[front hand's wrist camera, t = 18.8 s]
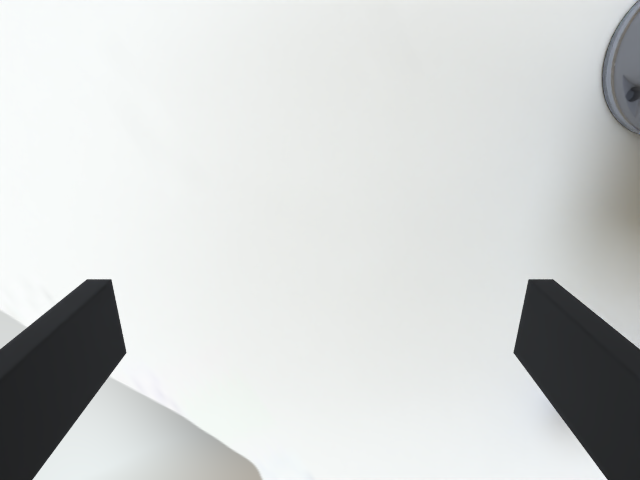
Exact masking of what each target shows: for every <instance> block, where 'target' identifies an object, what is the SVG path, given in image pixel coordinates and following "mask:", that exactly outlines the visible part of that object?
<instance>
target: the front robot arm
mask: <svg viewBox="0 0 640 480" xmlns="http://www.w3.org/2000/svg"><path fill="white" fill-rule="evenodd" d="M603 90H604V95H605V99H606V102H607V104H608V107H609V109H610V111H611V112H612V114H613V115H614V117H615V118H616V119H617V120H618V121H619V122H620V123H621V124H622V125H623V126H624V127H626V128H627V129H629V130H631V131H633V132H635V133H637V134H640V0H639V1H638V2H637V3H636V4H635V5H634V6H633V7H632V8H631V9H630V10H629V12H628V13H627V14H626V15H625V17H624V18H623V20H622V21H621V23H620V24H619V26H618V28H617V29H616V31H615V33H614V35H613V37H612V39H611V42H610V44H609V47H608V50H607V53H606V57H605V61H604V67H603ZM125 354H126V348H125V343H124V339H123V334H122V329H121V324H120V319H119V314H118V309H117V305H116V300H115V295H114V290H113V285H112V280H111V279H87V280H86V281H84V282H83V283H82V284H81V285H79V286H78V287H77V288H76V289H75V290H73V291H72V292H71V293H70V294H68V295H67V296H66V297H65V298H63V299H62V300H61V301H60V302H58V303H57V304H56V305H55V306H53V307H52V308H51V309H50V310H49V311H47V312H46V313H45V314H44V315H42V316H41V317H40V318H39V319H37V320H36V321H35V322H34V323H32V324H31V325H30V326H29V327H27V328H26V329H25V330H24V331H22V332H21V333H20V334H19V335H18V336H16V337H15V338H14V339H13V340H11V341H10V342H9V343H8V344H6V345H5V346H4V347H3V348H1V349H0V480H32V479H33V478H34V477H35V475H36V474H37V473H38V471H39V470H40V469H41V467H42V466H43V465H44V463H45V462H46V461H47V459H48V458H49V457H50V455H51V454H52V452H53V451H54V450H55V448H56V447H57V446H58V444H59V443H60V442H61V440H62V439H63V438H64V436H65V435H66V434H67V432H68V431H69V430H70V428H71V427H72V426H73V424H74V423H75V421H76V420H77V419H78V417H79V416H80V415H81V413H82V412H83V411H84V409H85V408H86V407H87V405H88V404H89V403H90V401H91V400H92V399H93V397H94V396H95V394H96V393H97V392H98V390H99V389H100V388H101V386H102V385H103V384H104V382H105V381H106V380H107V378H108V377H109V376H110V374H111V373H112V372H113V370H114V369H115V367H116V366H117V365H118V363H119V362H120V361H121V359H122V358H123V357H124V355H125ZM514 354H515V355H516V357H517V358H518V359H519V361H520V362H521V363H522V365H523V366H524V367H525V369H526V370H527V372H528V373H529V374H530V376H531V377H532V378H533V380H534V381H535V382H536V384H537V385H538V386H539V388H540V389H541V390H542V392H543V393H544V394H545V396H546V397H547V399H548V400H549V401H550V403H551V404H552V405H553V407H554V408H555V409H556V411H557V412H558V413H559V415H560V416H561V417H562V419H563V420H564V421H565V423H566V424H567V426H568V427H569V428H570V430H571V431H572V432H573V434H574V435H575V436H576V438H577V439H578V440H579V442H580V443H581V444H582V446H583V447H584V448H585V450H586V451H587V453H588V454H589V455H590V457H591V458H592V459H593V461H594V462H595V463H596V465H597V466H598V467H599V469H600V470H601V471H602V473H603V474H604V475H605V477H606V478H607V480H640V349H639V348H637V347H636V346H635V345H634V344H632V343H631V342H630V341H629V340H627V339H626V338H625V337H624V336H622V335H621V334H620V333H619V332H618V331H616V330H615V329H614V328H613V327H611V326H610V325H609V324H608V323H606V322H605V321H604V320H603V319H601V318H600V317H599V316H598V315H596V314H595V313H594V312H593V311H591V310H590V309H589V308H588V307H587V306H585V305H584V304H583V303H582V302H580V301H579V300H578V299H577V298H575V297H574V296H573V295H572V294H570V293H569V292H568V291H567V290H565V289H564V288H563V287H562V286H560V285H559V284H558V283H557V282H556V281H554V280H553V279H529V280H528V285H527V290H526V295H525V300H524V305H523V309H522V314H521V319H520V324H519V329H518V334H517V339H516V343H515V348H514Z"/></svg>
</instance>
